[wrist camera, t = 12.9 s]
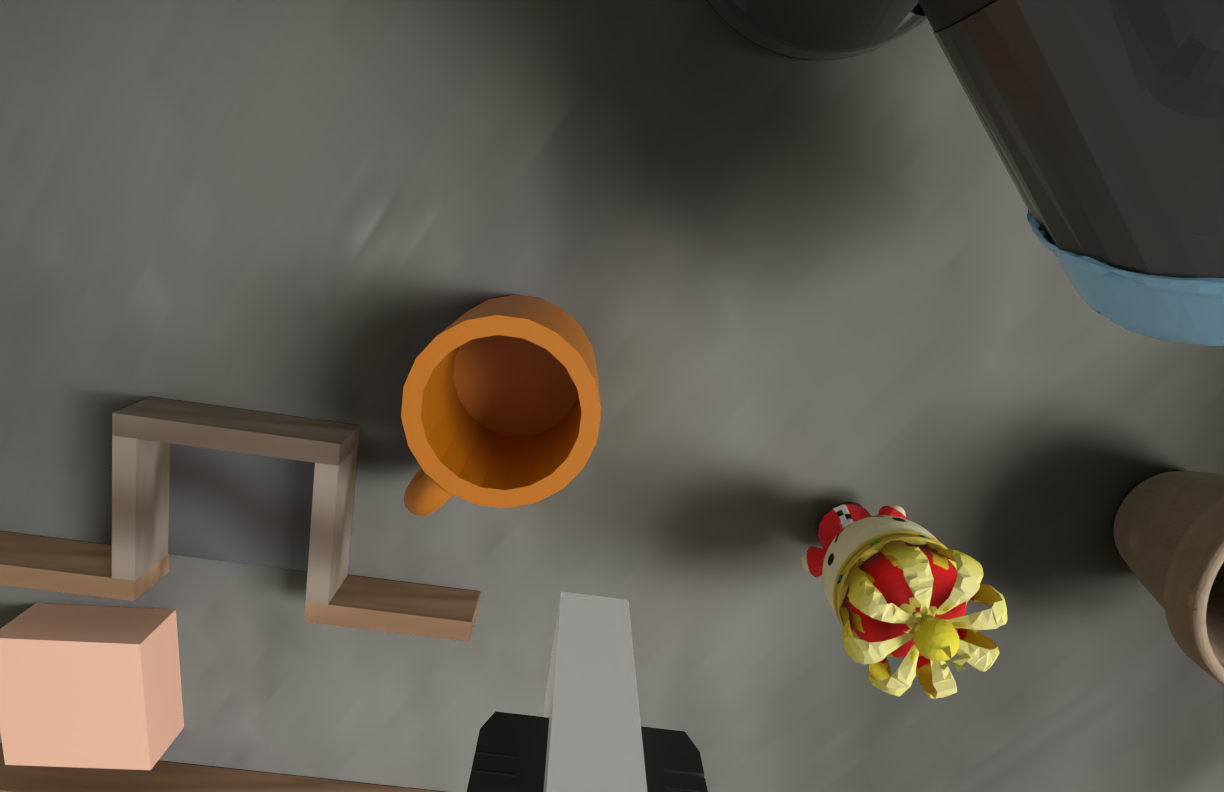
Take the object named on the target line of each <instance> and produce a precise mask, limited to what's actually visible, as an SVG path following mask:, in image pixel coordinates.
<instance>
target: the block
mask: <svg viewBox="0 0 1224 792" xmlns="http://www.w3.org/2000/svg"><path fill="white" fill-rule="evenodd" d="M183 728H184V720H183V705H182V691H181V677H180V663H179V649H178V635H177V621H176V610H175V609H153V608H132V607H111V606H89V605H68V604H47V603H35V604H34V605H33V606H31V607H30V608H28V609H27V610H26V611H24V612H23V613H21V614H20V615H19V616H17V617H16V618H14V619H13V620H12V621H10V622H9V623H7V624H6V625H5V626H3V627H2V628H0V732H1V739H2V746H3V754H4V761H5V765H23V766H50V767H77V768H104V769H131V770H151V769H152V768H153V766H154V765H155V764H156V763H157V761H158V760H159V759H160V758H161V756H162V755H163V754H164V752H165V751H166V750H167V749H168V747H169V746H170V745H171V743H172V742H173V741H174V740H175V738H176V737H177V736H178V734H179V733H180V732H181V731H182V729H183Z"/></svg>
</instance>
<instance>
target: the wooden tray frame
mask: <svg viewBox="0 0 1224 792" xmlns="http://www.w3.org/2000/svg"><path fill="white" fill-rule="evenodd" d="M359 430H360V425H353V424H346V423H338V422H331V421H324V420H317V419H310V418H302V417H295V416H288V415H281V414H273V413H266V412H259V411H252V410H244V409H237V408H230V407H223V406H215V405H208V404H201V403H194V402H186V401H179V400H172V399H165V398H157V397H149V398H146V399H144V400H142V401H139V402H137V403H134V404H132V405H130V406H127V407H125V408H123V409H120V410H118V411H116V412H113V413H112V545H107V544H99V543H91V542H83V541H75V540H67V539H59V538H51V537H43V536H35V535H27V534H20V533H12V532H4V531H0V585H7V586H15V587H23V588H31V589H39V590H48V591H56V592H64V593H72V594H81V595H89V596H97V597H105V598H114V599H122V600H130V601H135V600H136V599H138V598H139V597H140V596H141V595H142V594H143V593H145V592H146V591H147V590H148V589H149V588H150V587H152V586H153V585H154V584H155V583H156V582H157V581H159V580H160V579H161V578H162V577H163V576H164V575H166V574H167V573H168V572H169V562H170V554H173V555H181V556H189V557H197V558H204V559H212V560H220V561H228V562H236V563H244V564H252V565H260V566H268V567H276V568H284V569H292V570H300V571H308V573H307V588H306V602H305V617H304V622H311V623H319V624H327V625H336V626H344V627H352V628H360V629H369V630H377V631H385V632H393V633H402V634H410V635H418V636H426V637H434V638H443V639H451V640H459V641H467V642H469V641H470V637H471V634H472V630H473V626H474V623H475V619H476V616H477V612H478V607H479V599H480V591H473V590H465V589H457V588H449V587H441V586H433V585H425V584H417V583H409V582H401V581H393V580H385V579H377V578H369V577H361V576H353V575H348V565H349V553H350V541H351V529H352V516H353V504H354V492H355V479H356V467H357V455H358V442H359ZM0 792H440V791H431V790H421V789H412V788H403V787H394V786H385V785H376V784H366V783H357V782H348V781H339V780H330V779H320V778H311V777H302V776H293V775H284V774H274V773H265V772H256V771H247V770H238V769H229V768H219V767H210V766H201V765H192V764H183V763H173V762H164V761H157V763H156V764H155V765H154V766H153V768H152V769H151V770H131V769H104V768H77V767H50V766H23V765H5V761H4V754H3V746H2V744H0Z"/></svg>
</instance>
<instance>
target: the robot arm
mask: <svg viewBox="0 0 1224 792" xmlns="http://www.w3.org/2000/svg"><path fill="white" fill-rule="evenodd" d="M708 2H709V3H710V4H711V6H712V7H713V8H714V9H715V10H716V12H717V13H718V14H719V15H720V16H721V17H722V18H723V19H724V20H725V21H726V22H727V23H728V24H729V25H730V26H732V27H733V28H734V29H735V30H736V31H738V32H739V33H740V34H742V35H743V36H745V37H746V38H748V39H749V40H751V41H753V42H754V43H756V44H758V45H760V46H762V47H764V48H766V49H769V50H771V51H774V52H776V53H779V54H783V55H786V56H790V57H795V58H801V59H808V60H833V59H842V58H847V57H852V56H856V55H860V54H863V53H866V52H869V51H872V50H874V49H877V48H879V47H881V46H883V45H885V44H887V43H889V42H891V41H893V40H895V39H896V38H898V37H900V36H902V35H903V34H905V33H907V32H909V31H910V30H912V29H913V28H915V27H917V26H918V25H920V24H921V23H922V22H924V21H925V20H926V19H928V20H929V22H930V24H931V26H932V28H933V31H934V35H935V37H936V38H937V40H938V42H939V44H940V46H941V48H942V50H943V51H944V53H945V55H946V57H947V59H948V61H949V63H950V64H951V66H952V68H953V70H954V72H955V74H956V76H957V78H958V79H959V81H960V83H961V85H962V87H963V89H964V91H965V92H966V94H967V96H968V98H969V100H970V102H971V104H972V105H973V107H974V109H975V111H976V113H977V115H978V117H979V119H980V120H981V122H982V124H983V126H984V128H985V130H986V132H987V133H988V135H989V137H990V139H991V141H992V143H993V145H994V146H995V148H996V150H997V152H998V154H999V156H1000V158H1001V159H1002V161H1003V163H1004V165H1005V167H1006V169H1007V171H1008V173H1009V174H1010V176H1011V178H1012V180H1013V182H1014V184H1015V186H1016V187H1017V189H1018V191H1019V193H1020V195H1021V197H1022V199H1023V200H1024V202H1025V204H1026V206H1027V208H1028V214H1027V219H1028V221H1029V223H1030V226H1031V228H1032V230H1033V232H1034V233H1035V235H1036V236H1037V238H1038V239H1039V240H1040V242H1041V243H1042V244H1044V245H1045V246H1046V247H1047V248H1048V249H1049V250H1050V251H1052V252H1053V253H1054V254H1055V256H1056V257H1057V259H1058V261H1059V262H1060V264H1061V265H1062V267H1063V269H1064V270H1065V272H1066V274H1067V275H1068V277H1069V279H1070V280H1071V282H1072V284H1073V285H1074V287H1075V288H1076V290H1077V292H1078V293H1079V294H1080V296H1081V297H1082V299H1083V300H1084V301H1085V302H1086V303H1087V304H1088V305H1089V306H1090V307H1091V308H1092V309H1093V310H1095V311H1096V312H1098V313H1100V314H1102V315H1104V316H1106V317H1107V318H1109V319H1110V320H1111V321H1113V322H1114V323H1115V324H1117V325H1120V326H1122V327H1124V328H1125V329H1127V330H1129V331H1132V332H1135V333H1138V334H1141V335H1145V336H1148V337H1152V338H1156V339H1161V340H1166V341H1171V342H1178V343H1186V344H1196V345H1211V346H1224V0H708ZM467 792H708V791H707V786H706V781H705V778H704V771H703V766H702V761H701V756H700V752H699V751H698V749H697V748H696V746H695V745H694V744H693V742H692V741H691V740H690V738H689V737H688V735H687V734H686V733H685V732H684V731H675V730H666V729H658V728H649V727H641V722H640V712H639V702H638V692H637V682H636V672H635V662H634V652H633V642H632V632H631V622H630V612H629V601H628V600H623V599H615V598H608V597H600V596H592V595H584V594H576V593H568V592H561V597H560V603H559V610H558V617H557V623H556V630H555V636H554V643H553V649H552V656H551V663H550V669H549V676H548V682H547V689H546V695H545V704H544V715H543V717H537V716H529V715H520V714H511V713H503V712H495V713H494V714H493V715H492V716H491V717H490V718H489V719H488V721H487V722H486V723H485V724H484V725H483V726H482V727H481V729H480V732H479V737H478V742H477V746H476V751H475V756H474V760H473V765H472V771H471V775H470V779H469V784H468V789H467Z"/></svg>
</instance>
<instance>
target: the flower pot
mask: <svg viewBox="0 0 1224 792" xmlns="http://www.w3.org/2000/svg"><path fill="white" fill-rule="evenodd" d="M1114 540H1115V544H1116V547H1117V549H1118V551H1119V553H1120V555H1121V556H1122V558H1123V559H1124V561H1125V562H1126V563H1127V565H1128V566H1129V567H1130V569H1131V570H1132V571H1133V573H1134V574H1135V575H1136V576H1137V578H1138V579H1139V580H1140V581H1141V583H1142V584H1143V585H1144V586H1145V587H1146V589H1147V590H1148V591H1149V592H1150V593H1151V594H1152V595H1153V597H1154V598H1155V599H1156V600H1157V601H1158V602H1159V603H1160V605H1161V606H1162V607H1163V608H1164V609H1165V615H1166V619H1167V622H1168V625H1169V628H1170V631H1171V633H1172V635H1173V637H1174V639H1175V640H1176V642H1177V644H1178V645H1179V646H1180V648H1181V649H1182V650H1183V652H1184V653H1185V654H1186V655H1187V656H1188V657H1189V658H1190V659H1191V660H1192V661H1194V662H1195V663H1196V664H1197V665H1198V666H1199V667H1201V668H1202V669H1203V670H1204V671H1206V672H1207V673H1208V674H1210V675H1211V676H1212V677H1213V678H1214V679H1216V680H1217V681H1218V682H1219V683H1220V684H1222V685H1223V686H1224V474H1217V473H1206V472H1190V471H1172V472H1165V473H1161V474H1158V475H1155V476H1153V477H1151V478H1149V479H1147V480H1145V481H1143V482H1142V483H1140V484H1139V485H1138V486H1136V487H1135V488H1134V489H1133V490H1132V491H1131V492H1130V493H1129V494H1128V495H1127V496H1126V498H1125V499H1124V501H1123V502H1122V504H1121V506H1120V507H1119V510H1118V512H1117V515H1116V517H1115V522H1114Z"/></svg>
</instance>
